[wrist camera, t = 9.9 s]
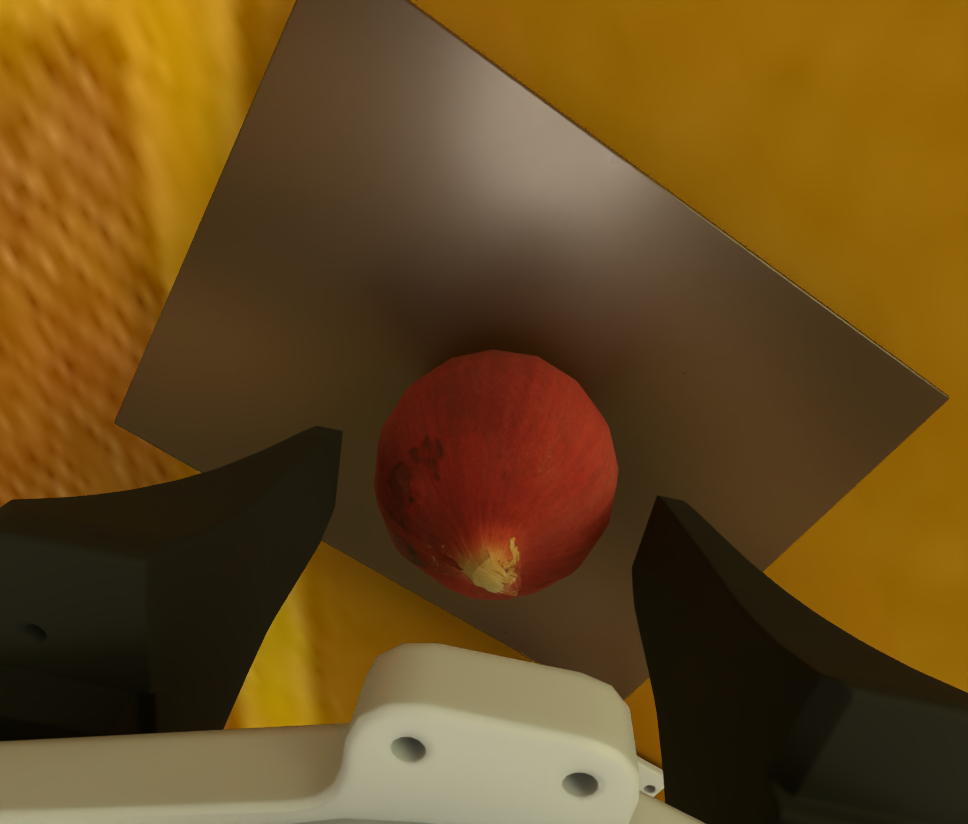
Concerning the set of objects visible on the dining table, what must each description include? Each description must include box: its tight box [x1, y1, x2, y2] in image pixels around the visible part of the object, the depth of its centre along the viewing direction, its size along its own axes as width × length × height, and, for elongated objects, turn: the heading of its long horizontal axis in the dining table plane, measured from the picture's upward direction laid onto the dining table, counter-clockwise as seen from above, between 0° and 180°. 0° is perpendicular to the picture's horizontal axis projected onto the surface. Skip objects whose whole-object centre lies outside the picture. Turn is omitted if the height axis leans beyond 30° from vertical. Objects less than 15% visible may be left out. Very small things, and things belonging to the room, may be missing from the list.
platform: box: [115, 0, 949, 701], centre depth 20 cm, size 15×20×3 cm
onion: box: [374, 349, 618, 600], centre depth 15 cm, size 6×6×8 cm
